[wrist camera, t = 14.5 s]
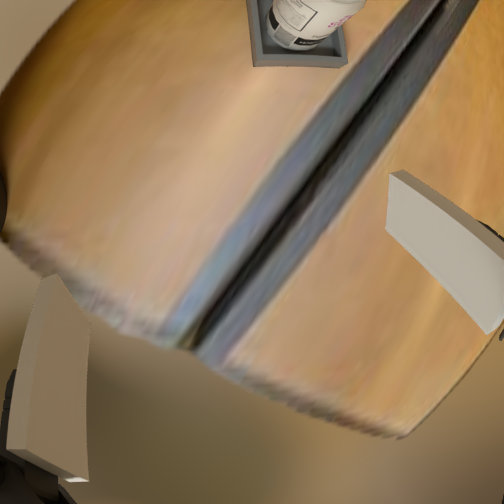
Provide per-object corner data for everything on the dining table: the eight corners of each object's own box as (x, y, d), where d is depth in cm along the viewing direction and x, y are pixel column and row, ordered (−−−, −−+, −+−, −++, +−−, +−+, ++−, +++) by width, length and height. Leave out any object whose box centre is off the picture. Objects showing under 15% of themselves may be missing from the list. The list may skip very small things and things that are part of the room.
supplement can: (271, -3, 32) (302, -62, 18) (327, 15, 34) (377, -31, 20) (257, 42, 34) (285, -10, 20) (316, 60, 36) (369, 22, 22)
